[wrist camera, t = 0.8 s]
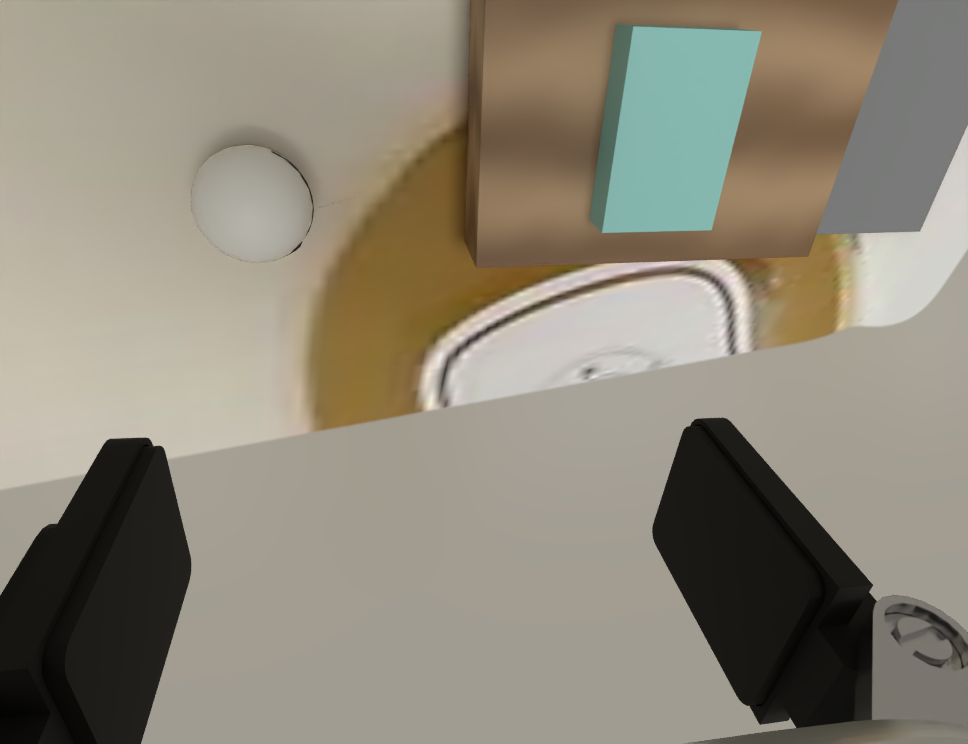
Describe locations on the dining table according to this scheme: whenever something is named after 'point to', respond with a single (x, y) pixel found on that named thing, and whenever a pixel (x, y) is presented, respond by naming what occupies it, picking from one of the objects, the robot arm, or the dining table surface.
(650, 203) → the teal rectangular block
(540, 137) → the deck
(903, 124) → the mat
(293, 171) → the white sphere
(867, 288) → the dining table surface
